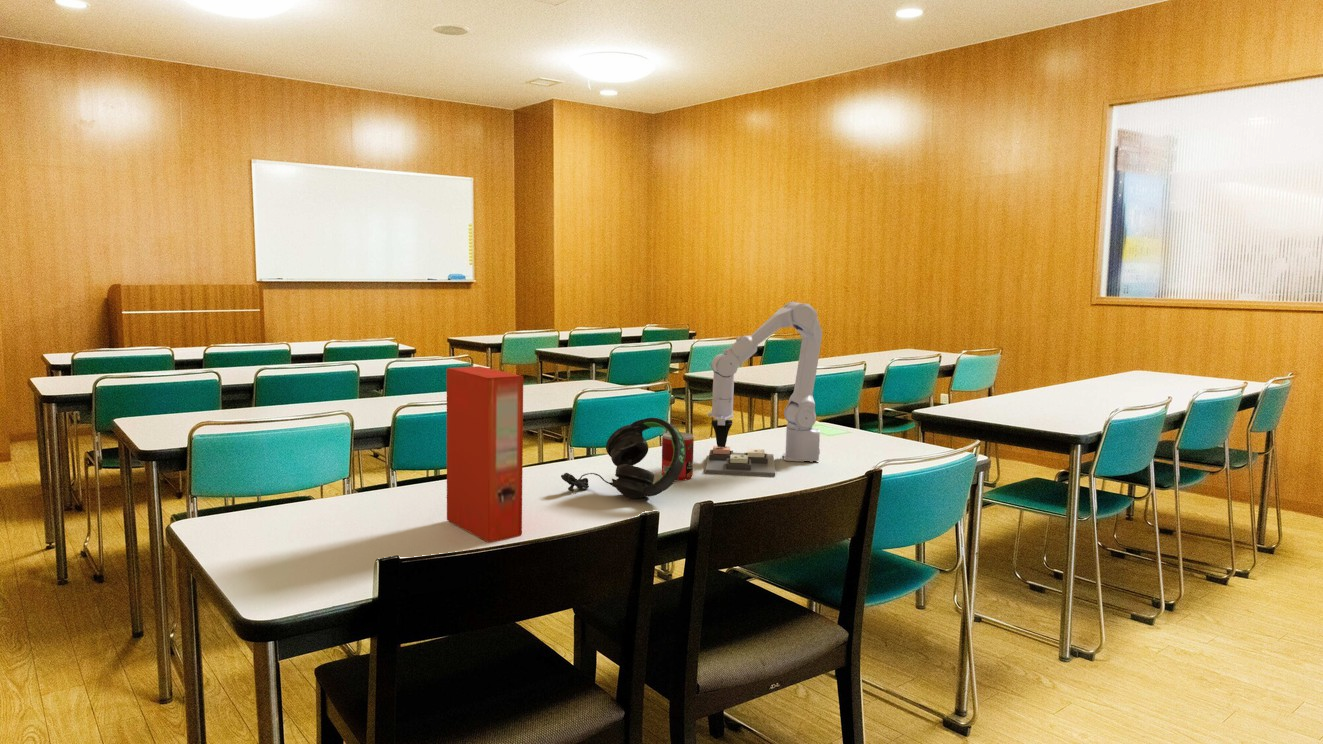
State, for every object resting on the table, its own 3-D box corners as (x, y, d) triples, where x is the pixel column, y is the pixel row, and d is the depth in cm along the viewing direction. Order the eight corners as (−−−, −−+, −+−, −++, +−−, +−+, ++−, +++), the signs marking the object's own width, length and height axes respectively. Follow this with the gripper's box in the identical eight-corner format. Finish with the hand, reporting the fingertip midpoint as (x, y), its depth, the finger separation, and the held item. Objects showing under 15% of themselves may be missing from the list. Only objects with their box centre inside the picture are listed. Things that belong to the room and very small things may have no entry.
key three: (729, 450, 239) (730, 446, 238) (729, 454, 234) (729, 449, 234) (713, 450, 239) (713, 445, 239) (712, 453, 234) (712, 449, 234)
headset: (598, 525, 205) (699, 482, 193) (561, 513, 194) (666, 467, 183) (588, 458, 214) (684, 413, 202) (553, 443, 203) (652, 395, 192)
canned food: (692, 481, 214) (694, 438, 213) (661, 480, 214) (661, 437, 213) (692, 473, 222) (693, 432, 220) (661, 473, 222) (662, 431, 221)
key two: (747, 459, 228) (747, 454, 228) (747, 463, 224) (747, 458, 223) (730, 458, 229) (730, 454, 228) (729, 462, 224) (730, 457, 224)
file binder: (482, 514, 183) (481, 365, 178) (523, 535, 169) (523, 375, 165) (446, 521, 177) (445, 368, 173) (486, 543, 164) (485, 378, 160)
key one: (764, 453, 236) (764, 449, 235) (764, 457, 231) (764, 452, 231) (747, 453, 236) (747, 448, 236) (747, 456, 232) (747, 452, 231)
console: (773, 457, 242) (773, 449, 242) (775, 476, 221) (775, 467, 220) (709, 455, 244) (709, 446, 244) (705, 473, 222) (705, 464, 222)
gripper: (709, 393, 242) (708, 440, 244) (706, 401, 228) (705, 451, 230) (734, 394, 241) (732, 441, 243) (733, 402, 227) (731, 452, 229)
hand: (721, 446), depth 236 cm, fingers closed
